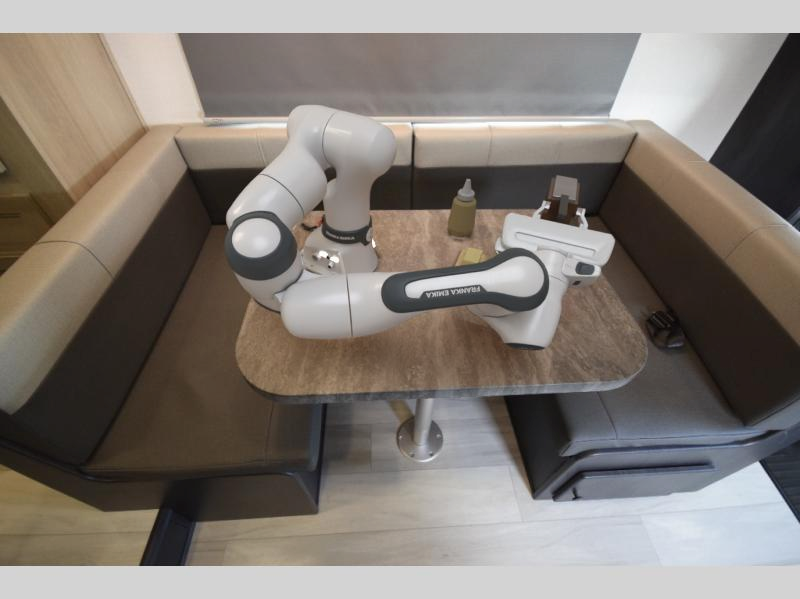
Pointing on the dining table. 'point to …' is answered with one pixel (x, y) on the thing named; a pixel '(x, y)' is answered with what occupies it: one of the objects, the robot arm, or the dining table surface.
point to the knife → (564, 194)
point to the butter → (472, 256)
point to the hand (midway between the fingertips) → (563, 206)
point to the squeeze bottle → (463, 212)
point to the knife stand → (553, 207)
